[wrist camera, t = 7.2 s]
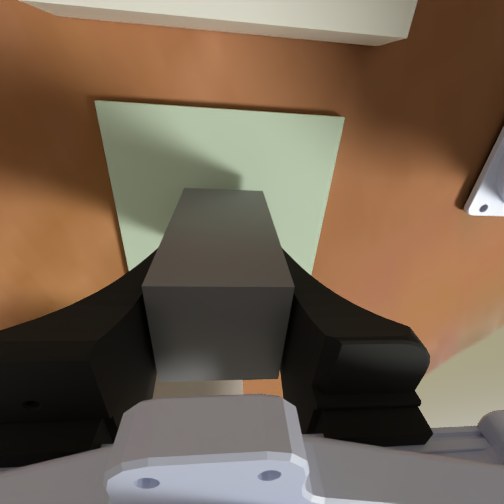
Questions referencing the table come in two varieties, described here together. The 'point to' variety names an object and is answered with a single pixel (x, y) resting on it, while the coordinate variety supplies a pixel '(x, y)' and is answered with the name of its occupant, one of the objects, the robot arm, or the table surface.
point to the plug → (218, 290)
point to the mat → (217, 167)
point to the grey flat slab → (256, 16)
